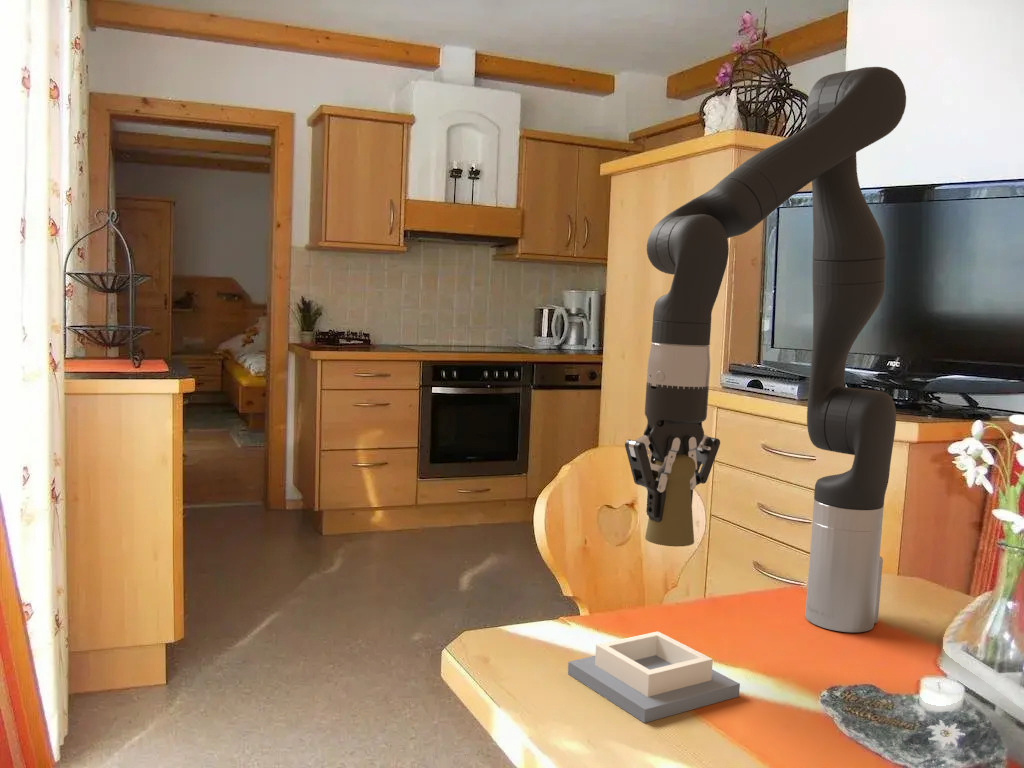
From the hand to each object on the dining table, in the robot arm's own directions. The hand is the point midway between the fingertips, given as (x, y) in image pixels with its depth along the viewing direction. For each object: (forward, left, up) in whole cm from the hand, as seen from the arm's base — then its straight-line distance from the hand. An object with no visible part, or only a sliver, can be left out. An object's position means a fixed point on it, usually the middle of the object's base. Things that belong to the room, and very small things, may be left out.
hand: (668, 518), depth 115 cm
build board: (+7, +6, -18) cm, 20 cm away
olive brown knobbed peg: (0, 0, -3) cm, 3 cm away
